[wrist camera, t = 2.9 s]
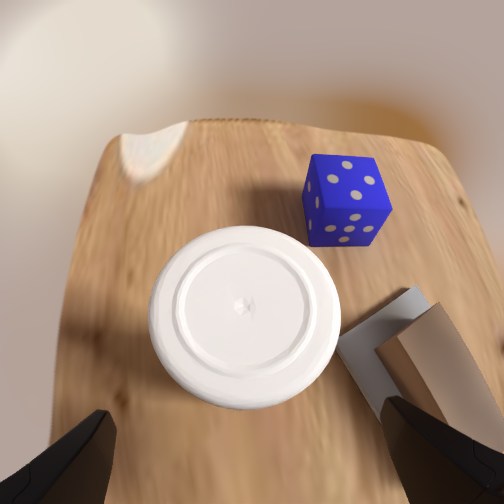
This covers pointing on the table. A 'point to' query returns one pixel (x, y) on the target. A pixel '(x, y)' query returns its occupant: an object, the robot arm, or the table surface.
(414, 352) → the ridge
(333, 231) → the die
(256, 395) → the spice jar
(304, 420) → the table surface
